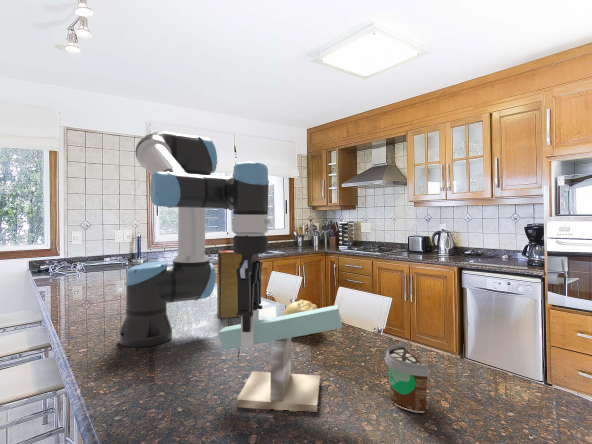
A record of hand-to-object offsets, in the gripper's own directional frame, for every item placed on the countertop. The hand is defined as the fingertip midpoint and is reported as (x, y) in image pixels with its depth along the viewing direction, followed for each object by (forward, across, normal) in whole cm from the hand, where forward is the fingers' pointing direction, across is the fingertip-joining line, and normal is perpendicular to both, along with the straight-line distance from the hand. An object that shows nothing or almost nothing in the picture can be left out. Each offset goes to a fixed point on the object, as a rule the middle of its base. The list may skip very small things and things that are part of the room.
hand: (250, 342), depth 76 cm
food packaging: (+11, +59, +21) cm, 64 cm away
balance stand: (+11, 0, -7) cm, 13 cm away
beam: (-2, 0, -7) cm, 7 cm away
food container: (+11, 0, -32) cm, 34 cm away
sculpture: (+11, +41, -7) cm, 43 cm away
